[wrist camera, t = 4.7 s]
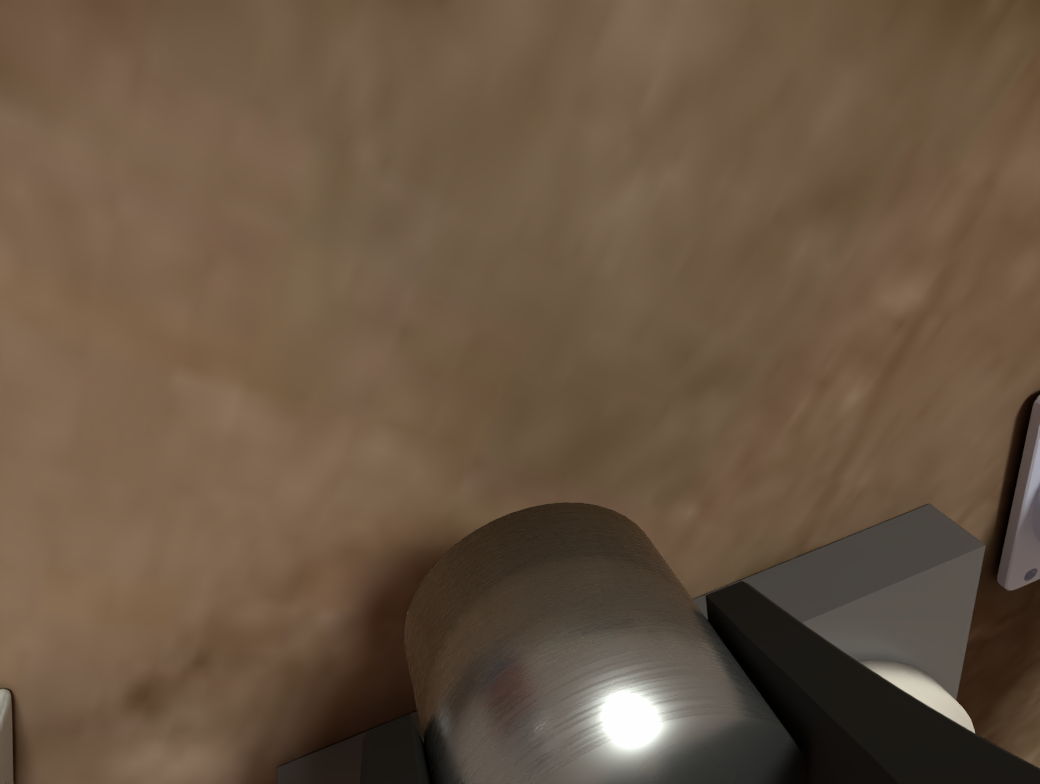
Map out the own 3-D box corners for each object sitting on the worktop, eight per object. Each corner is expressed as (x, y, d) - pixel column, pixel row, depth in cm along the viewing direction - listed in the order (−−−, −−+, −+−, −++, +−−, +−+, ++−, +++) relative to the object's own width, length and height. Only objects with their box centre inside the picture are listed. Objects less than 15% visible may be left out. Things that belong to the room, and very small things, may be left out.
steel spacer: (645, 464, 11) (807, 659, 8) (671, 651, 13) (805, 865, 10) (366, 566, 10) (409, 831, 7) (444, 745, 13) (505, 1008, 9)
